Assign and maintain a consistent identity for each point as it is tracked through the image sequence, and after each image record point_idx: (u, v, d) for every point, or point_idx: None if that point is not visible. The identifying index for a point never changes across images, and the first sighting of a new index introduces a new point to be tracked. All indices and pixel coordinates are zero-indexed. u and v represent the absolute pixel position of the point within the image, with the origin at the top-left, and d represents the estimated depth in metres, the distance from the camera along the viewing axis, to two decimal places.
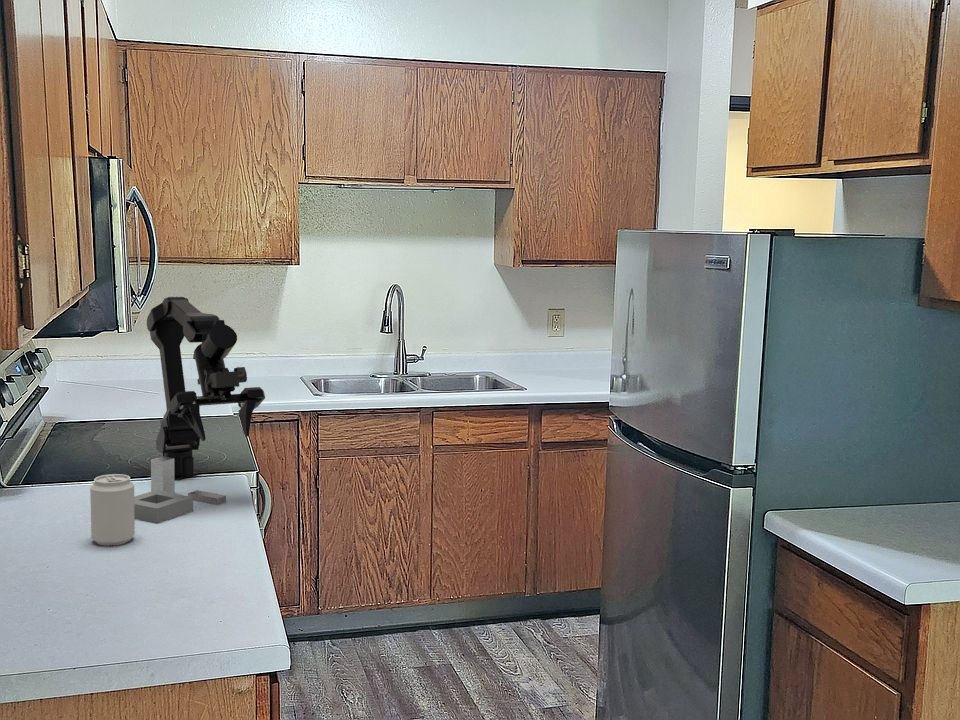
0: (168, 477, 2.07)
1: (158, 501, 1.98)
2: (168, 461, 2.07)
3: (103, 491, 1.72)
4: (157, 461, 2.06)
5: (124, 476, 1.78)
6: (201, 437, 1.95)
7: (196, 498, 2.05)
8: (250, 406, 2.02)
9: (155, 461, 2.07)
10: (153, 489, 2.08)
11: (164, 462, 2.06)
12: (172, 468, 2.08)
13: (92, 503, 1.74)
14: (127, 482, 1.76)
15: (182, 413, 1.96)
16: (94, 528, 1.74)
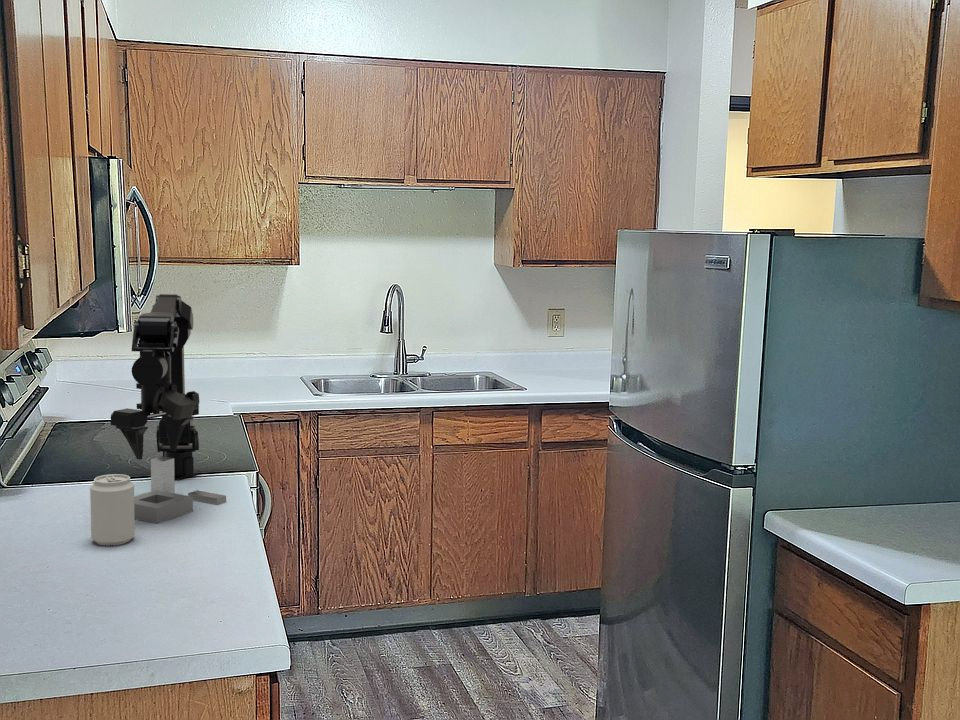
0: (168, 477, 2.07)
1: (158, 501, 1.98)
2: (168, 461, 2.07)
3: (103, 491, 1.72)
4: (157, 461, 2.06)
5: (124, 476, 1.78)
6: (137, 456, 1.89)
7: (196, 498, 2.05)
8: (184, 423, 1.97)
9: (155, 461, 2.07)
10: (153, 489, 2.08)
11: (164, 462, 2.06)
12: (172, 468, 2.08)
13: (92, 503, 1.74)
14: (127, 482, 1.76)
15: None
16: (94, 528, 1.74)
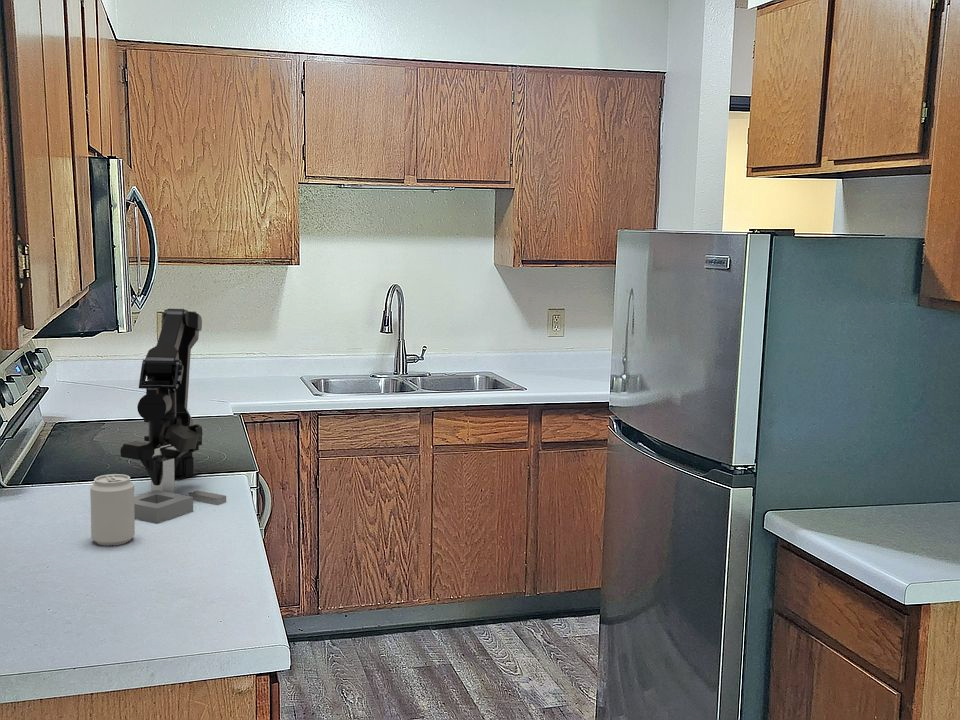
0: (168, 477, 2.07)
1: (158, 501, 1.98)
2: (168, 461, 2.07)
3: (103, 491, 1.72)
4: None
5: (124, 476, 1.78)
6: (155, 482, 2.06)
7: (196, 498, 2.05)
8: (180, 455, 2.10)
9: None
10: (153, 489, 2.08)
11: (164, 462, 2.06)
12: (172, 468, 2.08)
13: (92, 503, 1.74)
14: (127, 482, 1.76)
15: None
16: (94, 528, 1.74)
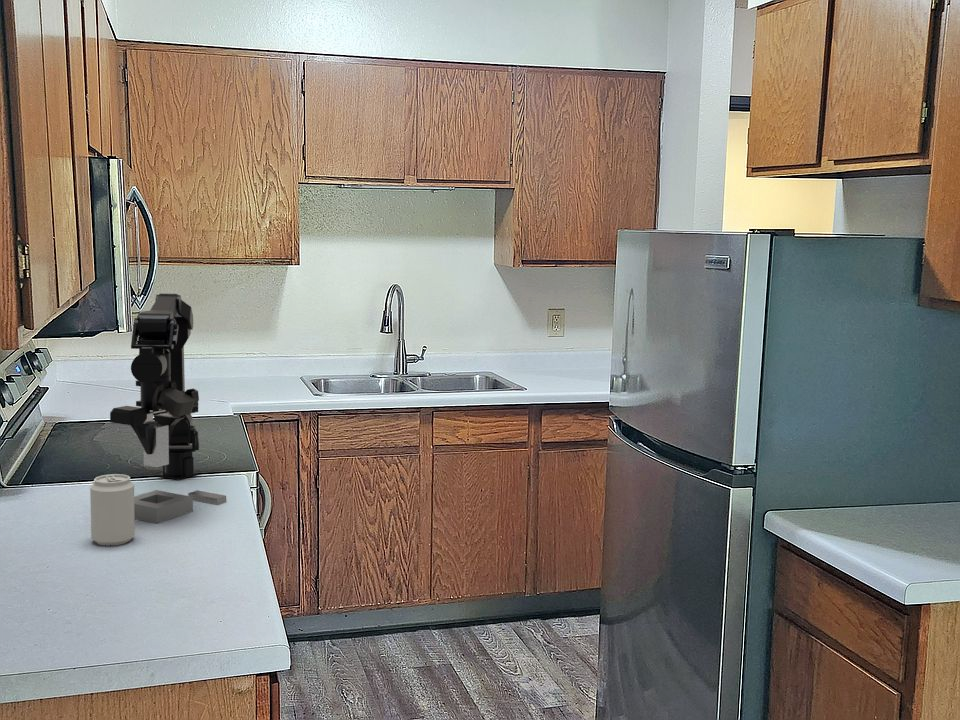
0: (162, 445, 1.93)
1: (158, 501, 1.98)
2: (162, 428, 1.92)
3: (103, 491, 1.72)
4: None
5: (124, 476, 1.78)
6: (147, 451, 1.92)
7: (196, 498, 2.05)
8: (174, 422, 1.95)
9: None
10: (145, 458, 1.93)
11: (157, 429, 1.91)
12: (166, 436, 1.93)
13: (92, 503, 1.74)
14: (127, 482, 1.76)
15: None
16: (94, 528, 1.74)
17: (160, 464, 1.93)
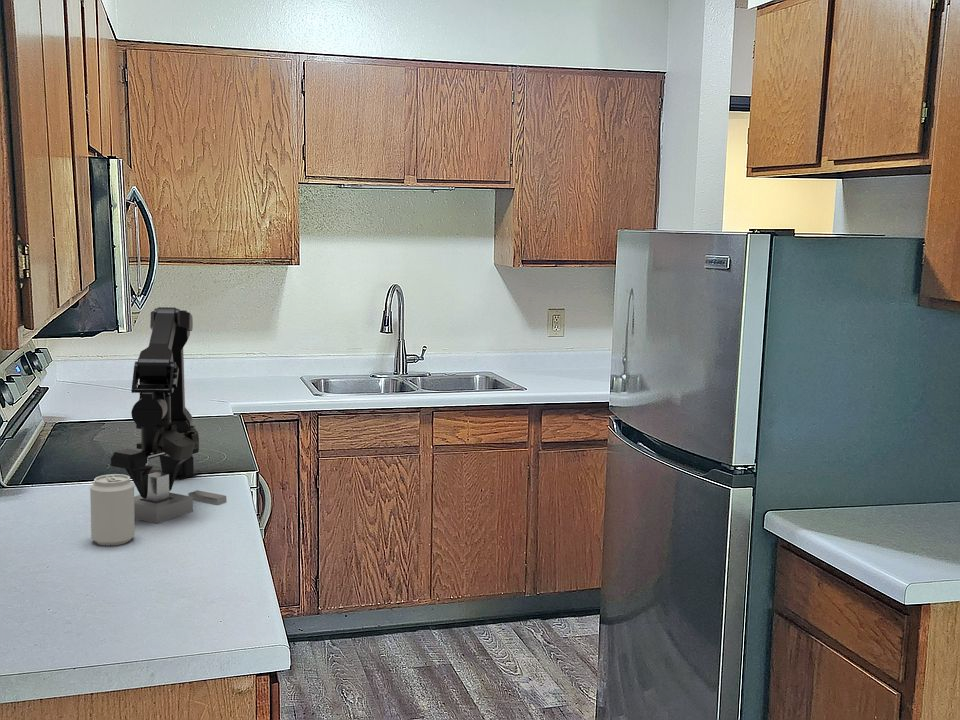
0: (162, 495, 1.94)
1: None
2: (162, 477, 1.93)
3: (103, 491, 1.72)
4: (150, 477, 1.93)
5: (124, 476, 1.78)
6: (142, 494, 1.91)
7: (196, 498, 2.05)
8: (180, 462, 1.97)
9: (148, 477, 1.93)
10: None
11: (158, 478, 1.92)
12: (167, 485, 1.95)
13: (92, 503, 1.74)
14: (127, 482, 1.76)
15: None
16: (94, 528, 1.74)
17: None
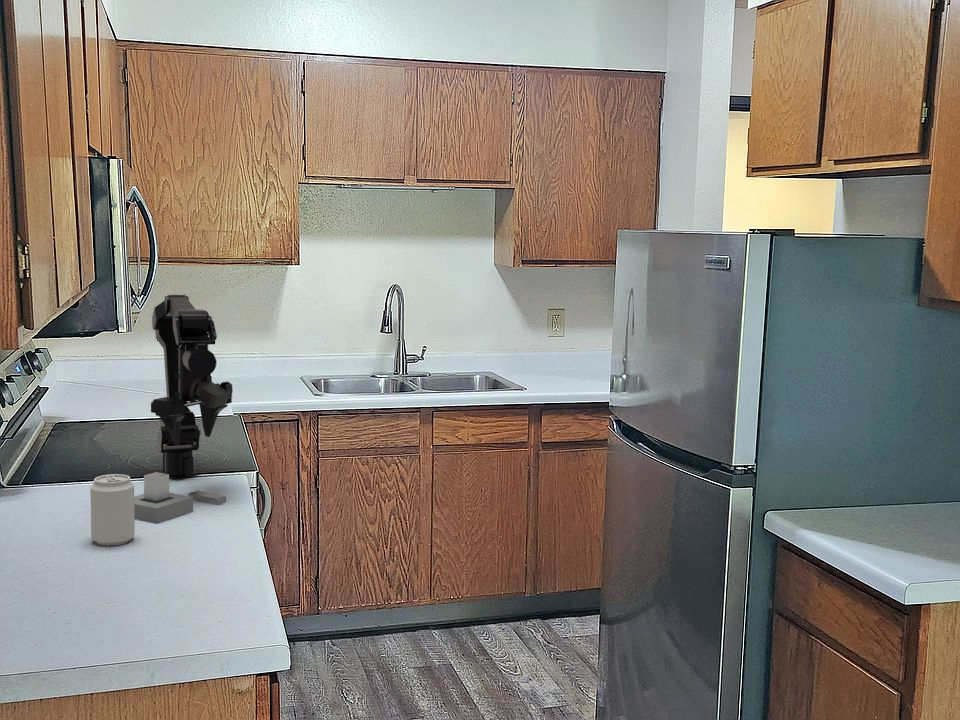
0: (162, 495, 1.94)
1: None
2: (162, 477, 1.93)
3: (103, 491, 1.72)
4: (150, 477, 1.93)
5: (124, 476, 1.78)
6: (175, 441, 2.04)
7: (196, 498, 2.05)
8: (218, 410, 2.11)
9: (148, 477, 1.93)
10: None
11: (158, 478, 1.92)
12: (167, 485, 1.95)
13: (92, 503, 1.74)
14: (127, 482, 1.76)
15: None
16: (94, 528, 1.74)
17: None
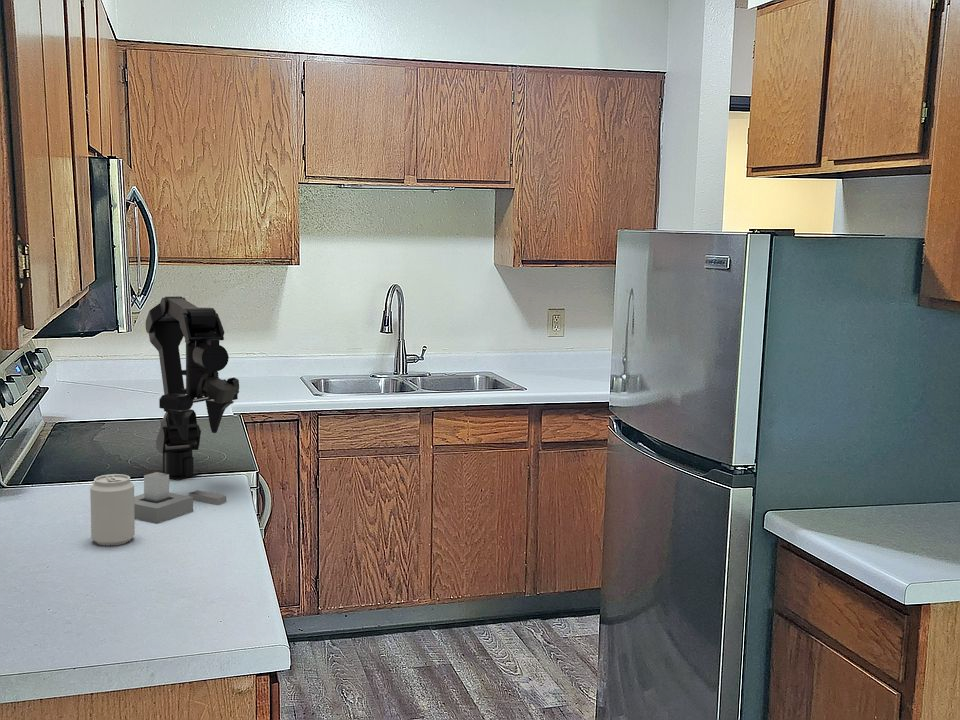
0: (162, 495, 1.94)
1: None
2: (162, 477, 1.93)
3: (103, 491, 1.72)
4: (150, 477, 1.93)
5: (124, 476, 1.78)
6: (183, 437, 2.06)
7: (196, 498, 2.05)
8: (225, 407, 2.14)
9: (148, 477, 1.93)
10: None
11: (158, 478, 1.92)
12: (167, 485, 1.95)
13: (92, 503, 1.74)
14: (127, 482, 1.76)
15: None
16: (94, 528, 1.74)
17: None
